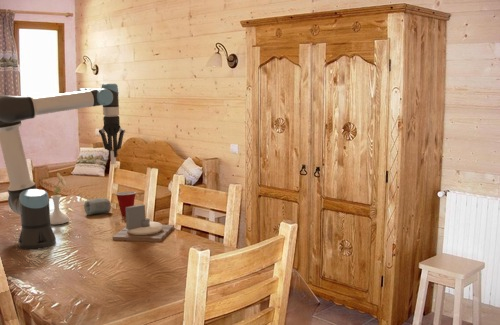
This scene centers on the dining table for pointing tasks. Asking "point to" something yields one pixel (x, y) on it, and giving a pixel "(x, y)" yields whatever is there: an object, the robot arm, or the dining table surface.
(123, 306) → the dining table surface
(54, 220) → the flower in vase
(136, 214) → the dial
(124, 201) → the plastic cup
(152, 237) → the dial plate
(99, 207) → the rolled towel
